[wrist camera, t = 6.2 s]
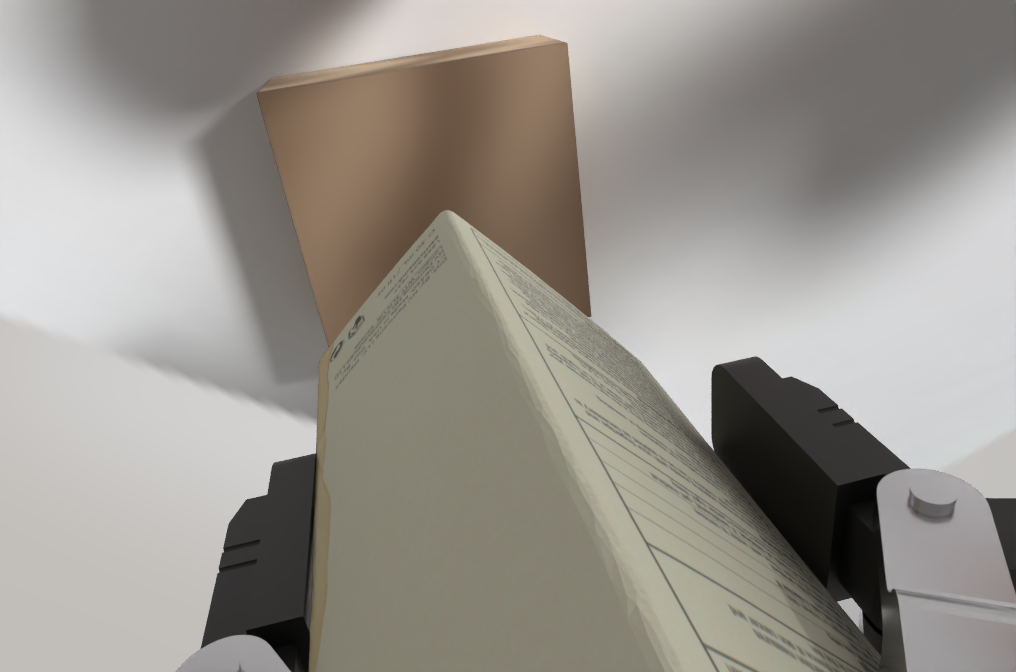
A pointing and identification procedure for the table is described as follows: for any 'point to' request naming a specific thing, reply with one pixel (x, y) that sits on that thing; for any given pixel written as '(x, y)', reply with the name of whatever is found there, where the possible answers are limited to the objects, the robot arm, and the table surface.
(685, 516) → the skincare box
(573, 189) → the pedestal
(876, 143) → the table surface
